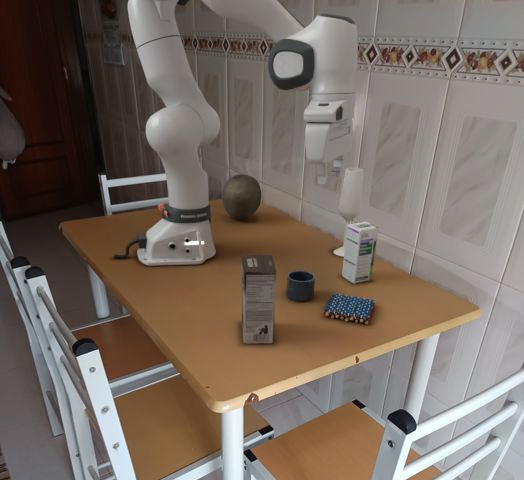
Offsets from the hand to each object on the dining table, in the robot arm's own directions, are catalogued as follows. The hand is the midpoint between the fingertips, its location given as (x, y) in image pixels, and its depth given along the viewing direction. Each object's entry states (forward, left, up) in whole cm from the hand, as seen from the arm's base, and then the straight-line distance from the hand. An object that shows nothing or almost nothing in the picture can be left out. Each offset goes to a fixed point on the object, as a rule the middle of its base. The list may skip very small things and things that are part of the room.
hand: (330, 179), depth 107 cm
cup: (-5, +1, -28) cm, 28 cm away
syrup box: (+14, +7, -28) cm, 32 cm away
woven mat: (+3, -10, -28) cm, 30 cm away
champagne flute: (+20, +25, -28) cm, 43 cm away
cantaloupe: (0, +64, -28) cm, 70 cm away
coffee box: (-21, -13, -28) cm, 37 cm away
